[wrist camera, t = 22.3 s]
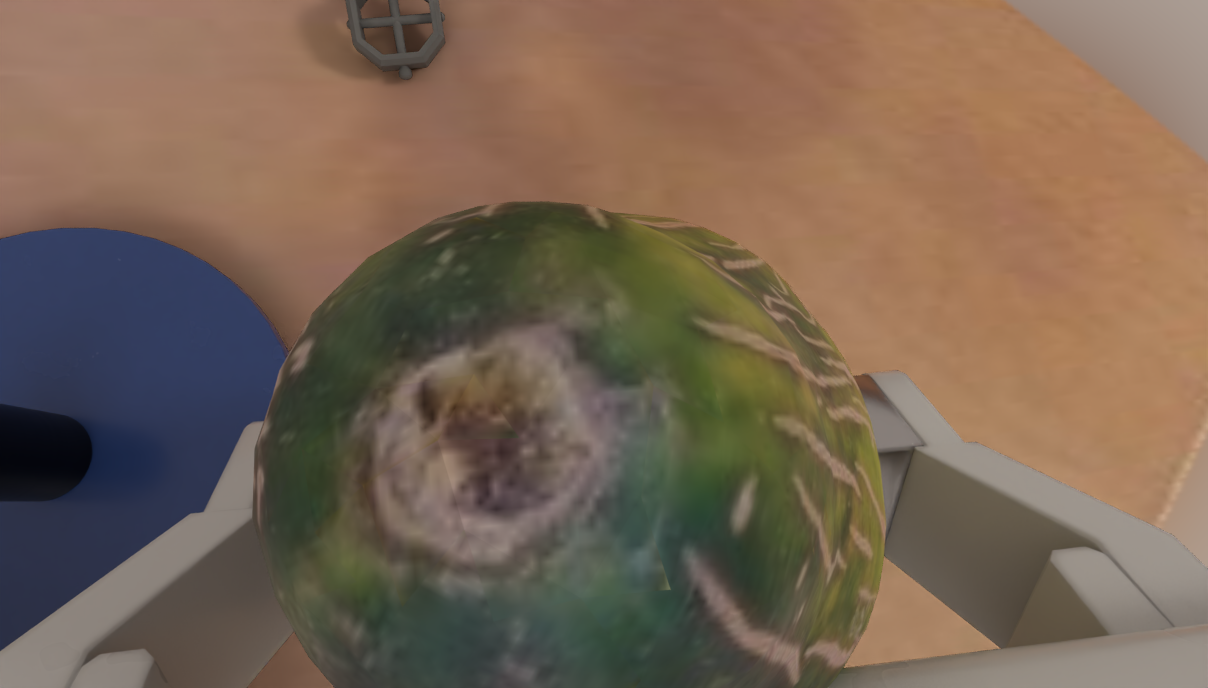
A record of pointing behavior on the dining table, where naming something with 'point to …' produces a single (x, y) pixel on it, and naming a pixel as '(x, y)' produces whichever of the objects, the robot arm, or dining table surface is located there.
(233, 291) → the lid
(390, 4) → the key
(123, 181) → the dining table surface
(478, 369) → the vegetable
